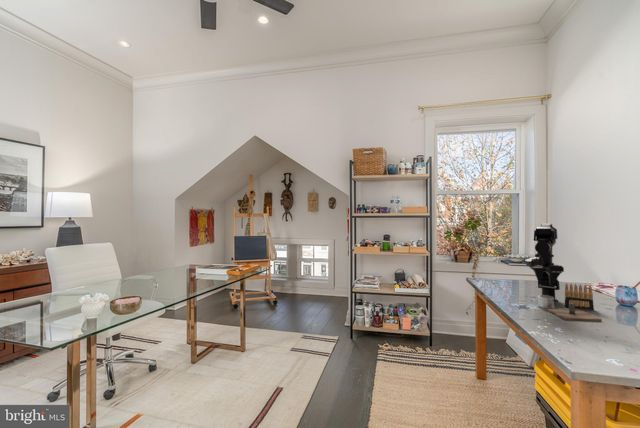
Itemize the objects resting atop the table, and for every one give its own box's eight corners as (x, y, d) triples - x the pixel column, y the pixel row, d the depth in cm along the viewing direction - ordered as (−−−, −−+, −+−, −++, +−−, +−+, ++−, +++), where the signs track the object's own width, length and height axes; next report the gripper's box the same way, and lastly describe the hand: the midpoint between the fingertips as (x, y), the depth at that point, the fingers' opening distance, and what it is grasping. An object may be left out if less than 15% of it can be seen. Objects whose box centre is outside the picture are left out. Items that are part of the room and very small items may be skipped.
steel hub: (535, 304, 151) (535, 294, 151) (549, 304, 150) (549, 295, 150) (542, 308, 145) (542, 298, 145) (557, 308, 144) (556, 298, 144)
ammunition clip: (565, 307, 146) (564, 283, 146) (564, 306, 148) (563, 282, 148) (594, 310, 140) (593, 285, 140) (593, 309, 141) (592, 284, 142)
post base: (546, 310, 142) (545, 298, 142) (579, 311, 139) (578, 299, 139) (564, 320, 128) (564, 307, 128) (601, 321, 126) (601, 308, 126)
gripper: (516, 250, 157) (517, 279, 157) (538, 254, 139) (539, 287, 138) (539, 250, 156) (540, 280, 155) (564, 254, 137) (565, 287, 137)
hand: (545, 283), depth 146 cm, fingers open, 9 cm apart
